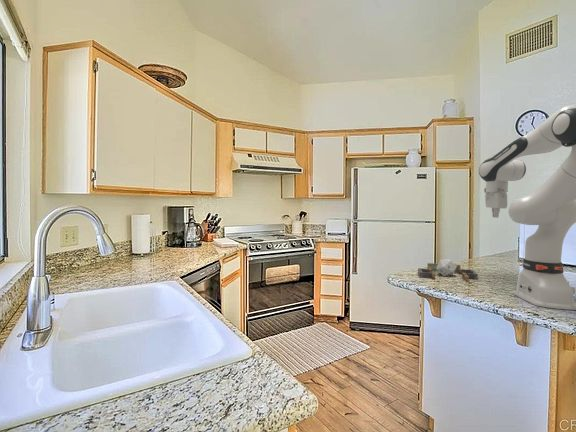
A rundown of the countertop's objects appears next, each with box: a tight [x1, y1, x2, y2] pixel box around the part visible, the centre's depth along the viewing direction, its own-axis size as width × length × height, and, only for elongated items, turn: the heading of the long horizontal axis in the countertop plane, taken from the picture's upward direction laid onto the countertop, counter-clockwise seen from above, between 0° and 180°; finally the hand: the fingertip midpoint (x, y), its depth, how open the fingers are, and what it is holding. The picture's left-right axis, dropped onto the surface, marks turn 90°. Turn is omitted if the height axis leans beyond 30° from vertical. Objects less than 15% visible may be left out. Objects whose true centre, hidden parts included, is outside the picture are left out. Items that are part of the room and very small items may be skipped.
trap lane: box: [417, 262, 479, 283], centre depth 156 cm, size 19×26×4 cm
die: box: [436, 258, 457, 277], centre depth 157 cm, size 8×9×10 cm
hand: (495, 217), depth 153 cm, fingers closed
